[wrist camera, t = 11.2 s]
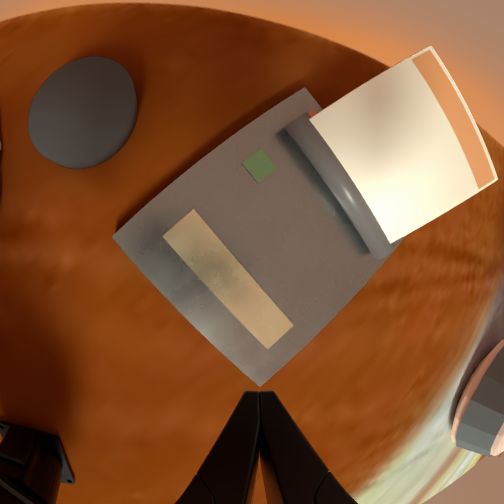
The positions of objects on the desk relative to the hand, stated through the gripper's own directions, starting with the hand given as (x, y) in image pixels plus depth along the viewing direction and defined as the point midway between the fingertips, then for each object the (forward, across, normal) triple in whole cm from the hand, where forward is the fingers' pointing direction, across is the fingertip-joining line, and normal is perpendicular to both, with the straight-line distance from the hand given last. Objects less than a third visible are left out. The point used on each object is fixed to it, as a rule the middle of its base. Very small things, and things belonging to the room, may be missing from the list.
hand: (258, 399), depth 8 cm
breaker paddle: (+13, -6, -5) cm, 15 cm away
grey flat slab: (+13, -2, -1) cm, 13 cm away
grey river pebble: (+11, +11, -10) cm, 19 cm away
